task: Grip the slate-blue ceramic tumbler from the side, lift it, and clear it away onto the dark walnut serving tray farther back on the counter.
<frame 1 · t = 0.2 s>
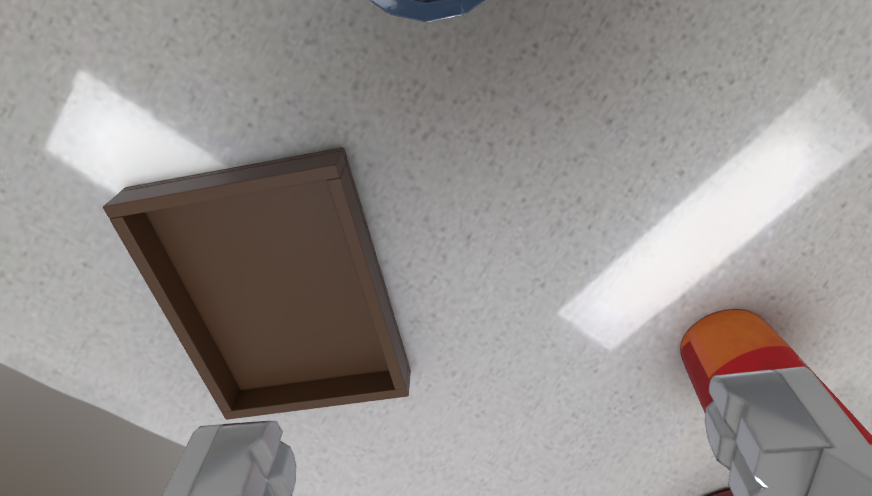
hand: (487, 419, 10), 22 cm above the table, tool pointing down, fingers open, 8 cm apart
tray: (282, 288, 36), on the table
coffee cup: (723, 340, 38), on the table
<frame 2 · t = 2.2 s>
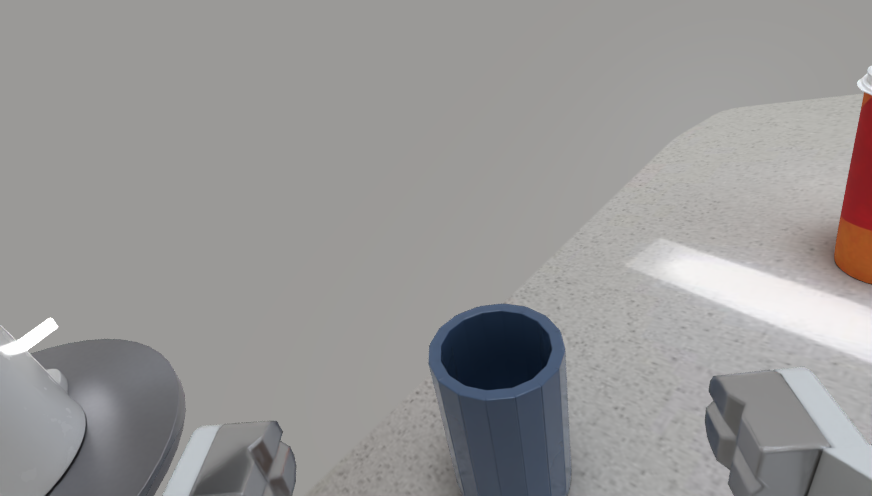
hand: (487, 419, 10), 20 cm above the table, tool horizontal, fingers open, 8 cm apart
tumbler: (513, 474, 31), on the table
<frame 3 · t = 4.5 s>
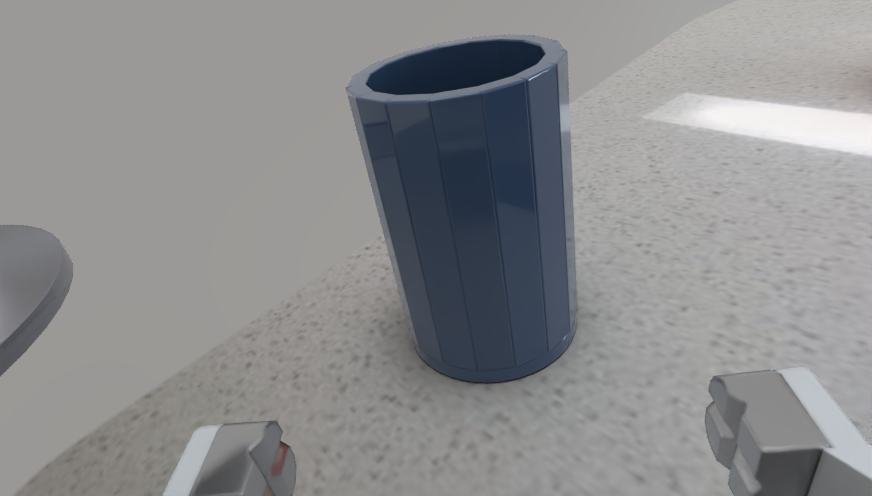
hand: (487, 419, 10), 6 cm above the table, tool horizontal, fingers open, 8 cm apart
tumbler: (492, 321, 21), on the table
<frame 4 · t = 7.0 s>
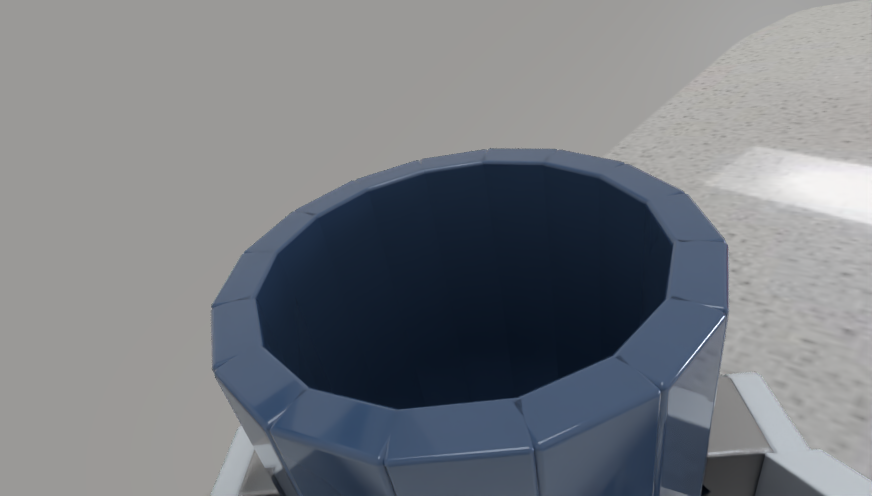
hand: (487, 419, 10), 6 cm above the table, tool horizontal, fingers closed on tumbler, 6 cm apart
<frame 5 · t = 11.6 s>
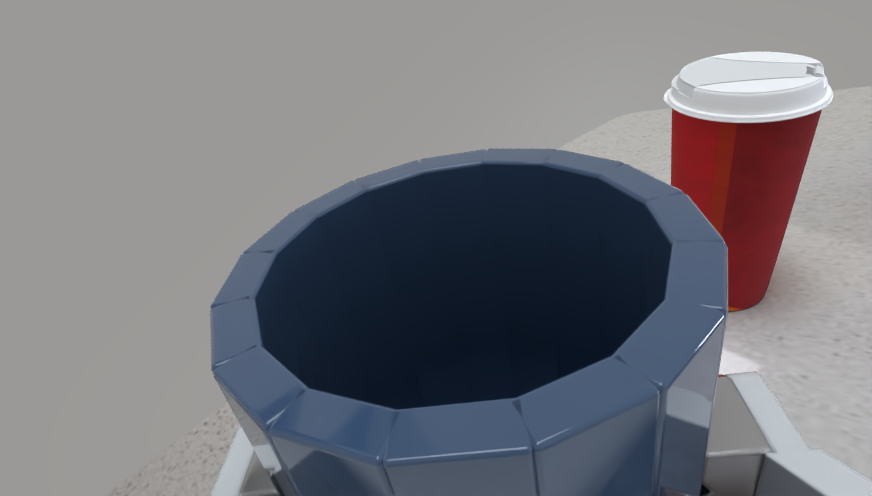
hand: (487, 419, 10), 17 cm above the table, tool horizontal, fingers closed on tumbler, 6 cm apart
coffee cup: (715, 286, 38), on the table
when the fingers open (6 cm above the table, at t = 16.1 s): tumbler stays where it is, resting on tray.
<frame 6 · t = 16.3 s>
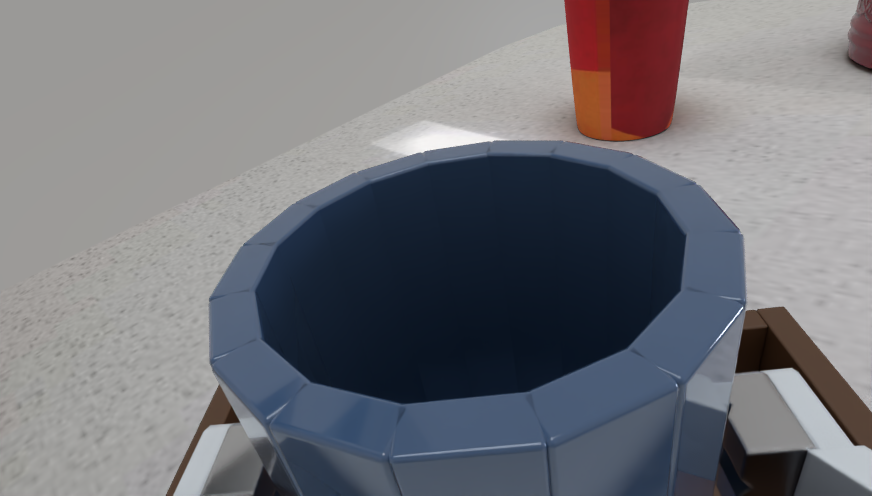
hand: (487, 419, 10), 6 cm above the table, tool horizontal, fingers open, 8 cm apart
coffee cup: (622, 126, 36), on the table
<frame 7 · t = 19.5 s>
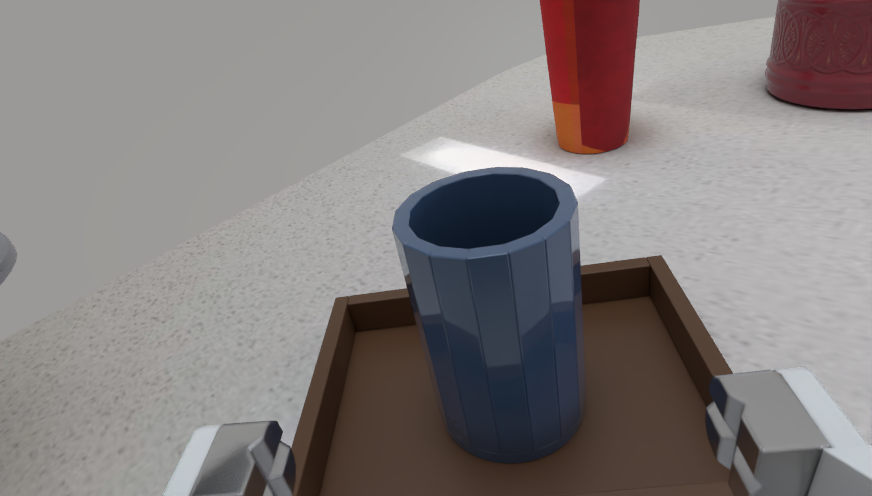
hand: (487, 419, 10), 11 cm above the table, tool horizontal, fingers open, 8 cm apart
kitchen canister: (846, 88, 48), on the table
tumbler: (511, 401, 24), resting on tray
tray: (509, 407, 24), on the table
coffee cup: (591, 142, 48), on the table
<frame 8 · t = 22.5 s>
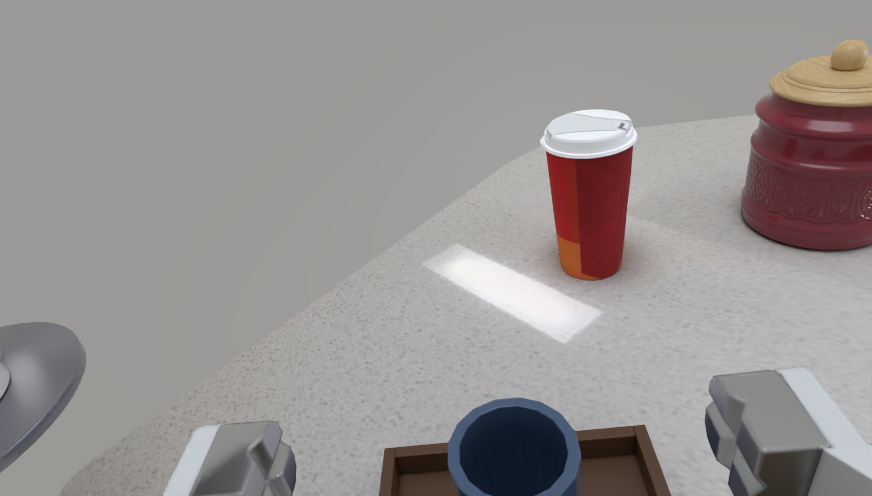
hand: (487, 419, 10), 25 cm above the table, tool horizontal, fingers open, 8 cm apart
kitchen canister: (810, 219, 55), on the table
coffee cup: (589, 264, 55), on the table
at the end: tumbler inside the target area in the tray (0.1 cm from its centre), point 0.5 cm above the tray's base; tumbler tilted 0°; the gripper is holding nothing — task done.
